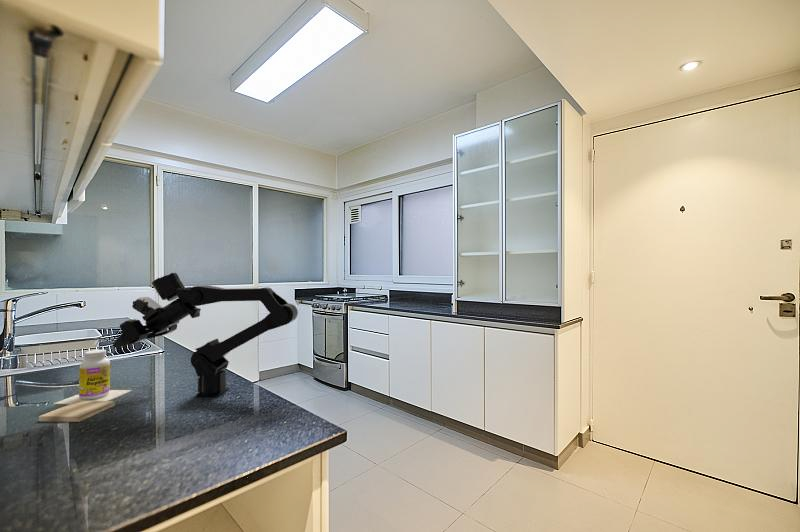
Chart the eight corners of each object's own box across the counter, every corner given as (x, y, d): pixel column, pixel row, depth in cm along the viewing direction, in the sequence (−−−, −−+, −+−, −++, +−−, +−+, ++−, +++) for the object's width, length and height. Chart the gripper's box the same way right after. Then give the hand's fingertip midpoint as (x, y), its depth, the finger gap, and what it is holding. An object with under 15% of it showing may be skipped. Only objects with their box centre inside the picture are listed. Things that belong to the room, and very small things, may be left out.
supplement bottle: (82, 402, 95) (82, 355, 95) (76, 397, 99) (76, 351, 99) (112, 395, 101) (113, 350, 101) (106, 390, 105) (106, 347, 105)
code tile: (132, 390, 105) (132, 389, 105) (99, 404, 94) (99, 403, 94) (90, 390, 106) (90, 389, 106) (53, 404, 95) (53, 403, 95)
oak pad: (114, 405, 94) (114, 401, 94) (79, 421, 84) (79, 416, 84) (78, 405, 94) (78, 400, 94) (38, 421, 84) (38, 416, 84)
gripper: (175, 288, 112) (132, 315, 111) (135, 292, 93) (83, 324, 92) (195, 317, 112) (152, 344, 111) (158, 327, 93) (106, 359, 92)
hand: (125, 342), depth 102 cm, fingers open, 9 cm apart
